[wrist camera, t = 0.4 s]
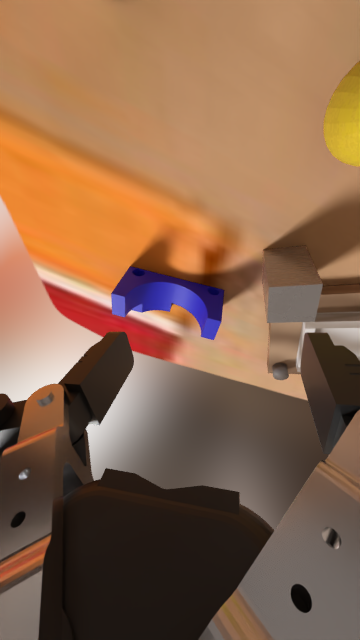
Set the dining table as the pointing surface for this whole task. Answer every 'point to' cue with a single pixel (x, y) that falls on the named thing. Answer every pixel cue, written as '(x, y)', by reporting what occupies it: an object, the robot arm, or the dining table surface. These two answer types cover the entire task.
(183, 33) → the dining table surface
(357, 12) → the dining table surface
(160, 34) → the dining table surface
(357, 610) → the robot arm
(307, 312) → the hinge block
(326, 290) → the door panel
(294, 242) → the dining table surface
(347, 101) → the lemon
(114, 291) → the cable clip
